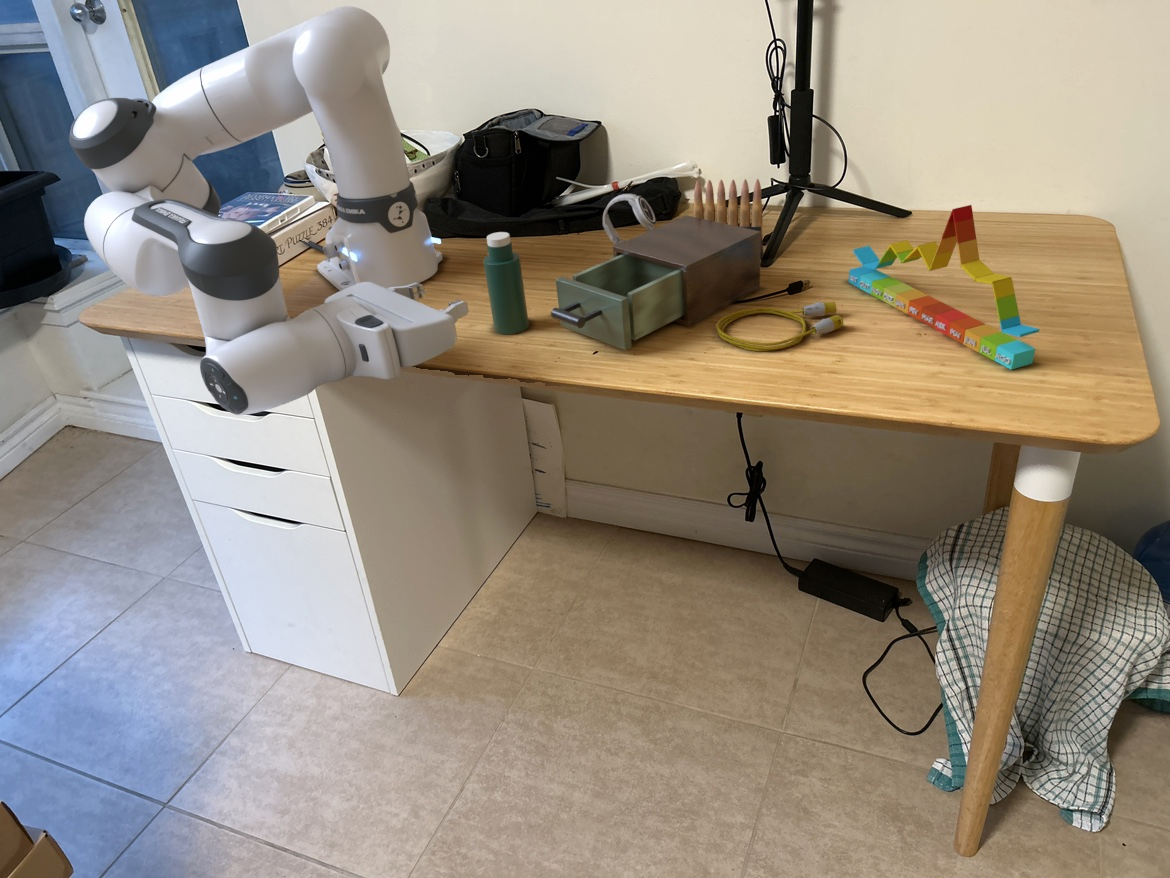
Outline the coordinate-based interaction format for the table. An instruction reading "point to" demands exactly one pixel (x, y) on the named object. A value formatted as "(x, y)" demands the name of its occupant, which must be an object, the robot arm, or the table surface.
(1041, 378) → the table surface
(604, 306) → the drawer
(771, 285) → the table surface
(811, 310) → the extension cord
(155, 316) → the table surface
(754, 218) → the ammunition clip
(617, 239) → the watch
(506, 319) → the glue bottle
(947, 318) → the chart
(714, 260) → the cabinet
